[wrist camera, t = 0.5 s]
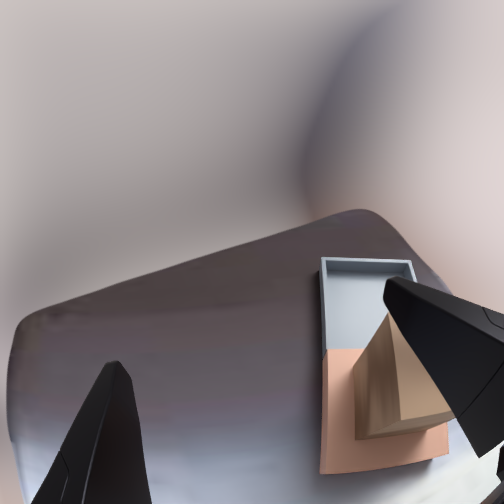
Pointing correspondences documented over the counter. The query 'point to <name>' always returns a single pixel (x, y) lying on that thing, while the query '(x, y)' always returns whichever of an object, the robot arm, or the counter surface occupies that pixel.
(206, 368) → the counter surface
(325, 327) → the tray
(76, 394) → the counter surface
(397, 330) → the tan block
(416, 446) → the thick peach slab
